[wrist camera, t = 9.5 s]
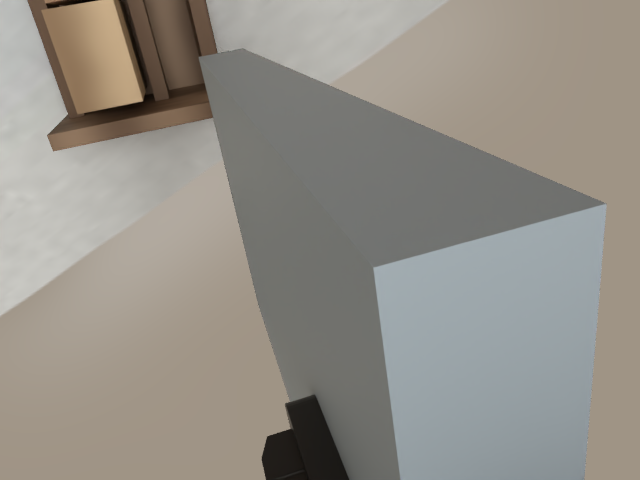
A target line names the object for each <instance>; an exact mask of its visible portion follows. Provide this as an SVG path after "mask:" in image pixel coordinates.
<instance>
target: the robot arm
mask: <svg viewBox="0 0 640 480" xmlns="http://www.w3.org/2000/svg"><path fill="white" fill-rule="evenodd" d="M285 407H286V411H287V416H288V420H289V423H290V428H291V429H289V430H286V431H283V432H280V433H277V434H273V435H270V436H268V437H267V440H266V444H265V448H264V451H263V455H262V463H263V467H264V472H265V477H266V480H349V477H348V475H347V472H346V470H345V467H344V465H343V462H342V460H341V457H340V455H339V452H338V450H337V447H336V445H335V442H334V440H333V437H332V435H331V432H330V430H329V427H328V425H327V422H326V420H325V417H324V415H323V412H322V410H321V407H320V405H319V402H318V400H317V398H316V396H315V394H314V395H311V396H307V397H304V398H301V399H298V400H295V401H292V402H289V403H286V404H285Z"/></svg>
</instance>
